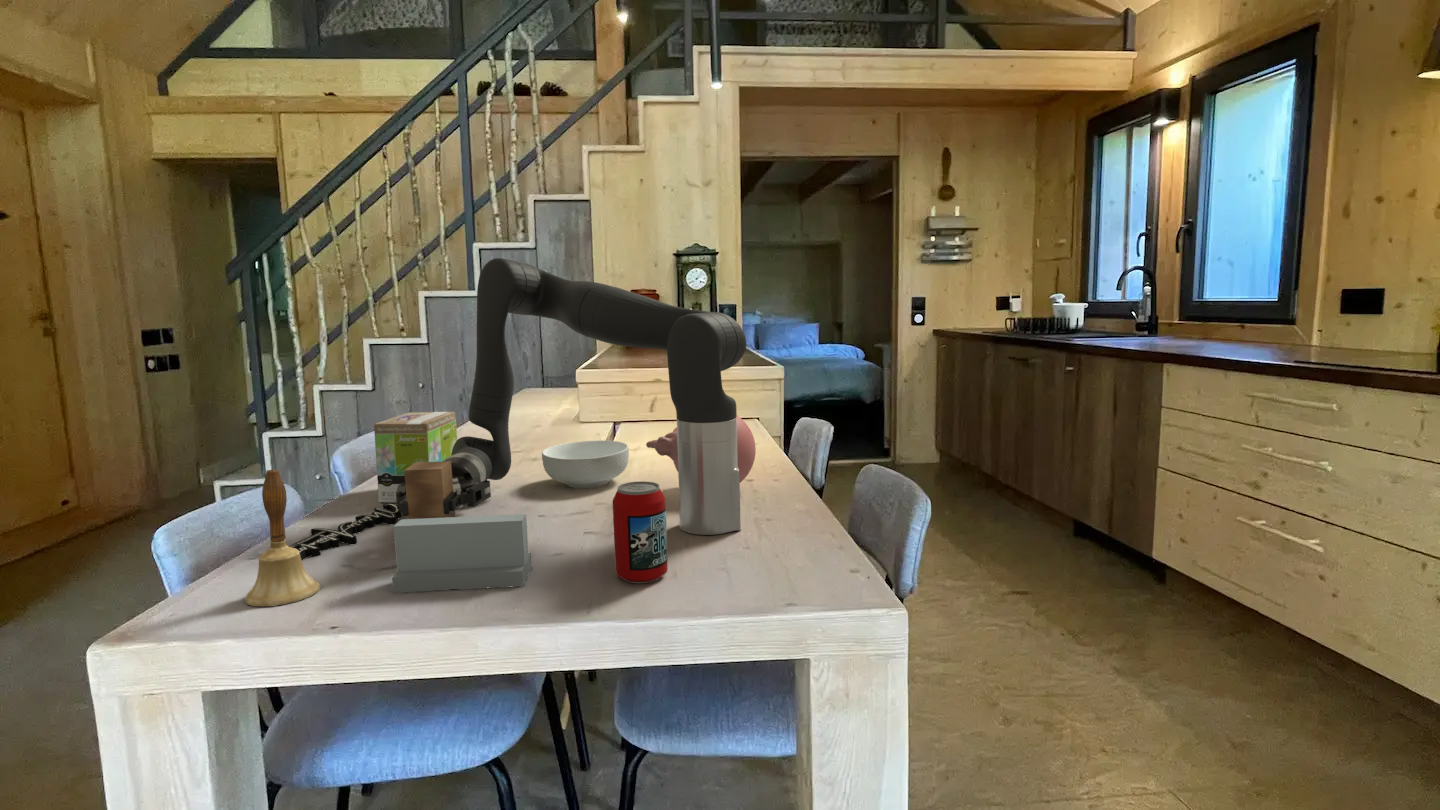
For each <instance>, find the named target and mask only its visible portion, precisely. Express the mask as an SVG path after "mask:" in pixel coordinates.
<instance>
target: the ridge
mask: <svg viewBox="0 0 1440 810" xmlns="http://www.w3.org/2000/svg"><path fill="white" fill-rule="evenodd" d="M392 526H393V536H394V547H395V548H394V549H395V558H396V571H397V572H395V574H394V575H393V576H392V577H391V580H392V591H393V592H392V593H395V594H396V593H415V592H417V591H418V592H434V590H435V591H436V590H439V591H451V590H450V589H459V590H474V589H473V588H479V589H491V588H490V587H499V588H510V587H509V586H519V587H524V585H525V583H524V582H526V581H527V579H528V577H527V576H529V575H528V574H530V573H531V571H530V570H532V569H533V560H532V556H533V555H532V552H529V540H528V523H527V514H526V513H522V514H521V513H520V514H519V513H517V514H499V515H498V514H497V515H495V514H494V515H493V514H492V515H472V516H455V517H446V518H423V519H408V518H405V519H401V518H400V519H399V521H398V522H397V524H394V525H392ZM529 572H530V573H529ZM526 578H527V579H526ZM525 580H526V581H525ZM523 584H524V585H523ZM507 586H508V587H507ZM487 587H489V588H487ZM470 588H472V589H470ZM448 589H449V590H448Z"/></svg>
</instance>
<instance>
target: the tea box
mask: <svg viewBox="0 0 1440 810" xmlns="http://www.w3.org/2000/svg"><path fill="white" fill-rule="evenodd" d="M456 414H457V413H456V411H420V412H419V411H416V412H415V411H414V412H413V411H412V412H406V413H402V414H399V415H396V416H393V417H391V418H387V419H384V420H381V421H379V422H378V421H377V422H376V423H374V424H373V428H374V429H373V431H374V445H375V446H374V447H375V461H376V462H375V463H376V464H375V465H376V476H377V477H376V478H377V494H378V502H379V503H387V504H388V503H392V504H397V503H396V491H397V488H398V485H400V484H403V483H404V484H405V473H404V470H406V469H407V468H409V467H410V466H411V465H413V464H414V463H417V462H442V461H444V460H445V459H446V458H448V457H450V456H451V453H452V449H453V446H454V444H455V442H456V441H457V440H458V435H457V434H458V431H457V428H458V427H457V415H456Z"/></svg>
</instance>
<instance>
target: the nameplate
mask: <svg viewBox="0 0 1440 810" xmlns="http://www.w3.org/2000/svg"><path fill="white" fill-rule="evenodd" d="M400 517H402V513H401V512H400V510H399V509H397V503H388V502H387V503H384V504H383V505H382V507H374V508H373V512H371V513H363V514H359V515H357V516H355V519H354V521H353V522H352V521H347V522H342V523H340V524H339V525H338V526H337V530H336V529H330V528H325V527H323V528H322V527H315V528H311V529H310V535H309V536H307V537H305V538H303V539H301V540H299V541H297V542H295V543H292V544H291V545H288V546H289V547H291V548H295V549H297V550H299V552H300V557H301V560H302V561H304V560H305V559H306V557H307V558H309V556H310V557H313V558H315V556H316V557H319V556H322V555H321V552H323V551H327V550H329V549H331V547H332V549H336V548H335V547H337V548H340V547H341V543H342V542H344V543H343V544H346V543H348V544H347V545H350V544H355V545H357V544H358V541H357V535H356V534H358V532H360V533H363V532H364V530H366V529H369V528H371V527H372V528H375V527H376V526H379V525H383V524H385V523H387V524H386V525H389V524H394V525H396V524H395V523H398V522H397V521H398V520H399V519H401V518H400ZM398 518H399V519H398ZM375 524H376V525H375ZM378 524H379V525H378ZM362 531H363V532H362ZM355 533H356V534H355ZM356 543H357V544H356ZM339 546H340V547H339ZM303 559H304V560H303Z"/></svg>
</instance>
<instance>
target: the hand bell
mask: <svg viewBox="0 0 1440 810" xmlns="http://www.w3.org/2000/svg"><path fill="white" fill-rule="evenodd" d="M264 478H265V479H264V480H263V484H262V491H261V492H262V496H261V497H262V502H263V503H262V504H263V508H264V510H265V513H266V516H267V517H268V520H269V534H270V542H269V543H270V544H269V545H270V547H269V549H268V550H266V551H264V552H263V553H261V554H260V555H259V557H258V569H257V570H258V572H257V577H256V579H255V583H254V585H253V586H252V588H251V590H249V591H248V592H247V594H246V596H245V598H244V602H245V603H246V604H247V605H249V606H252V607H276V606H282V605H288V604H291V603H296V602H300V601H302V600H305V599H307V598H310V597H312V596H313V595H315V594H317V593H318V592H319V591H320V590H321V585H320V584H319V582H318V581H317V580H316V579H313V578H312V577H311V576H310V575H309V573H308V572H307V571H306V568H305V566H304V563H303V560H301V557H300V552H299V550H297V549H295V548H291V547H289V546H290V545H287V541H286V540H287V538H286V537H287V535H286V529H285V528H286V527H285V522H284V521H285V520H284V519H285V513H286V509H287V489H286V486H285V483H284V481H283V479H282V477H281V475H280V472H279V469H275V468H274V469H268V470H266V473H265V477H264Z"/></svg>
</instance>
